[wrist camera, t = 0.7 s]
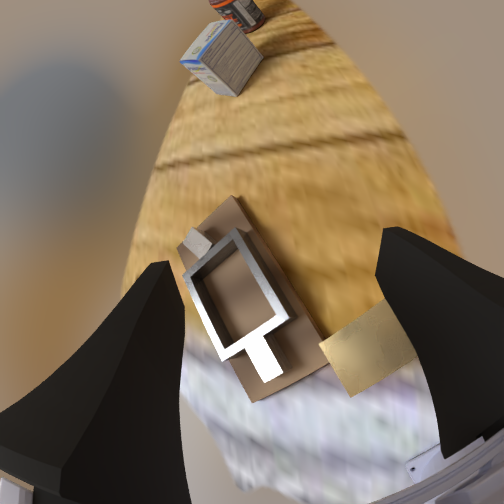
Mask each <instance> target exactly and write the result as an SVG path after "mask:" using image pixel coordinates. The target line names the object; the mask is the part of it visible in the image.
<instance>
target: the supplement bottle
mask: <svg viewBox="0 0 504 504" xmlns="http://www.w3.org/2000/svg"><path fill="white" fill-rule="evenodd" d="M209 3H210V5H211V6H212V7H213V8H214V9H215V10H216V11H217V12H218V13H219V14H220V15H221V16H222V17H223V18H224V19H225V20H231V19H232V20H233V21H234V22H235V23H236V24H237V25H238V26H239V28H240V29H241V30H242V31H243V32H244V34H246V33H249V32H252V31H254V30H256V29H257V28H259V27H260V26H261V25H262V24H263V23H264V21H265V16H264V15H263V13H262V12H261V10H260V9H259V8H258V7H257V5H256V4H255V3H254V1H253V0H209Z"/></svg>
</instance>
